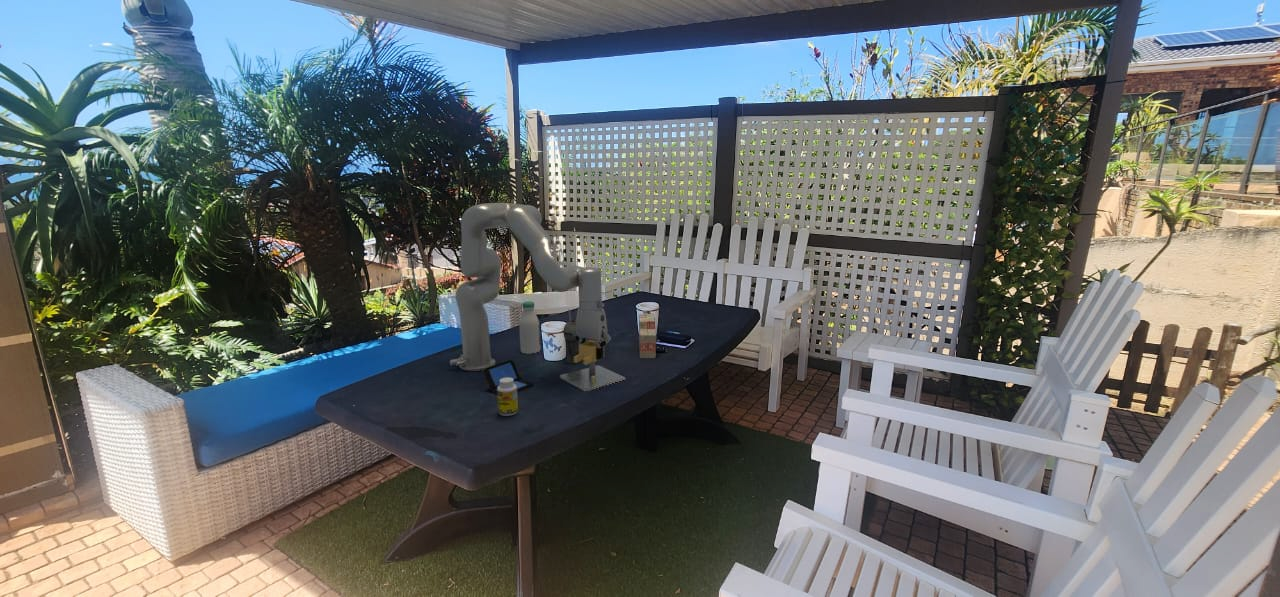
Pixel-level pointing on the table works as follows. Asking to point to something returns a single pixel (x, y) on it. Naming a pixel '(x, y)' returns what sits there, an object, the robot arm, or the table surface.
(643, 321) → the stack of blocks
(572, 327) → the beverage cup
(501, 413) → the supplement bottle
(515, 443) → the table surface
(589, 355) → the yellow hollow square block
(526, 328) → the milk bottle
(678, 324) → the table surface
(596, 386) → the post base
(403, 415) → the table surface
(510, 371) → the handheld game console
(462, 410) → the table surface
